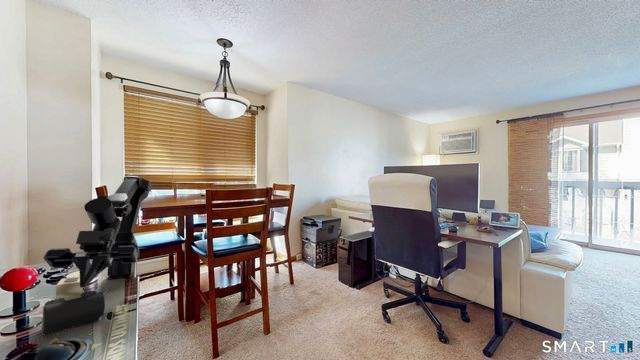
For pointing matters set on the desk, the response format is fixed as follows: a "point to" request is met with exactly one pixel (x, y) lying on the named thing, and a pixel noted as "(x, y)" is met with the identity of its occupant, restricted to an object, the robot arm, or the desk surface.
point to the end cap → (72, 312)
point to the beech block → (69, 288)
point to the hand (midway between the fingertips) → (82, 286)
